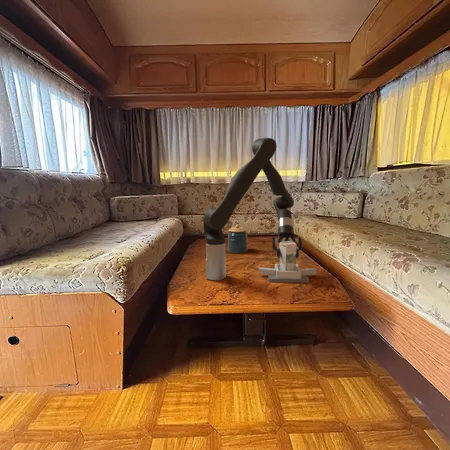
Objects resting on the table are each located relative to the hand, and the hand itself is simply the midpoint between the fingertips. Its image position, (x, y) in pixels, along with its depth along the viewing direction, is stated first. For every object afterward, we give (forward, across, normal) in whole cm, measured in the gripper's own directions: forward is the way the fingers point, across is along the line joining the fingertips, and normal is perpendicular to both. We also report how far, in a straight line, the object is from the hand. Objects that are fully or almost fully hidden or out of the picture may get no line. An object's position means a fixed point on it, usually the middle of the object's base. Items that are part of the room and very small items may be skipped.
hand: (287, 257), depth 131 cm
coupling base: (+6, 0, +8) cm, 10 cm away
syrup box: (+4, 0, +6) cm, 8 cm away
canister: (-26, -26, +42) cm, 56 cm away
